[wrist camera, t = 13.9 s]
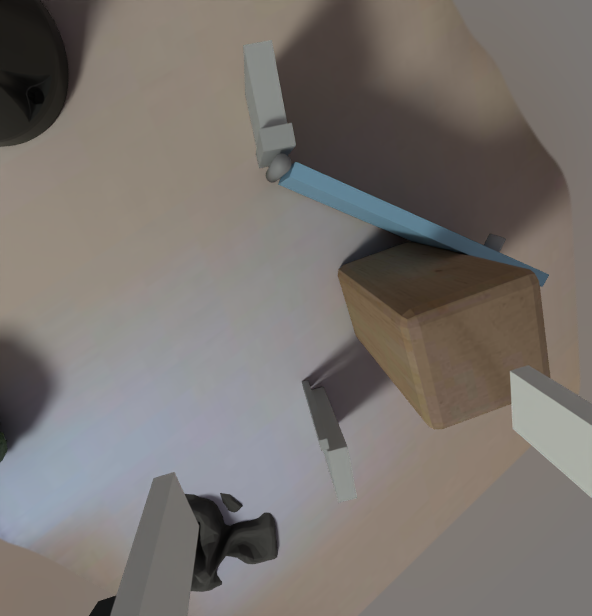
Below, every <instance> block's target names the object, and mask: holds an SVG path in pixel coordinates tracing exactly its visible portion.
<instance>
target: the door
mask: <svg viewBox="0 0 592 616" xmlns="http://www.w3.org/2000/svg"><path fill="white" fill-rule="evenodd" d="M266 178H267V180H268V181H269V182H276V181H277V180H278V179H280V181H279V184H278V185H281V186H283V187H285V188H288V189H290V190H293V191H295V192H297V193H300V194H302V195H304V196H307V197H309V198H311V199H314V200H316V201H318V202H321V203H323V204H325V205H328V206H330V207H332V208H335V209H337V210H339V211H342V212H344V213H346V214H349V215H351V216H353V217H356V218H358V219H361V220H363V221H365V222H368V223H370V224H372V225H375V226H377V227H379V228H382V229H384V230H386V231H389V232H391V233H393V234H396V235H398V236H400V237H403V238H405V239H407V240H410V241H412V242H416V243H420V244H424V245H429V246H433V247H437V248H441V249H445V250H450V251H454V252H458V253H462V254H467V255H471V256H475V257H479V258H484V259H488V260H492V261H496V262H501V263H505V264H509V265H513V266H517V267H522V268H526V269H530V270H531V271H532V272H534V273H535V275H536V276H537V278H538V280H539V285H540V286H541V287H543V285H544V283H545V281H546V280H547V278H548V276H549V274H546V273H544V272H542V271H540V270H538V269H535V268H533V267H531V266H529V265H526V264H524V263H522V262H520V261H517V260H515V259H513V258H511V257H508V256H506V255H504V254H502V253H499V252H500V250H501V248H502V246H503V244H504V242H505V240H506V239H504V238H502V237H500V236H497V235H493V234H489V236H488V238H487V240H486V242H485V244H484V245H481V244H479V243H477V242H475V241H473V240H470V239H468V238H466V237H464V236H461V235H459V234H457V233H455V232H452V231H450V230H448V229H446V228H443V227H441V226H439V225H437V224H434V223H432V222H430V221H428V220H425V219H423V218H421V217H419V216H416V215H414V214H412V213H410V212H408V211H405V210H403V209H401V208H399V207H396V206H394V205H392V204H390V203H387V202H385V201H383V200H381V199H378V198H376V197H374V196H372V195H369V194H367V193H365V192H363V191H360V190H358V189H356V188H354V187H351V186H349V185H347V184H345V183H342V182H340V181H338V180H336V179H334V178H331V177H329V176H327V175H325V174H322V173H320V172H318V171H316V170H313V169H311V168H309V167H307V166H304V165H302V164H300V163H298V162H294V163H293V164H292V165H291V160H290V158H289V157H288V156H287V155H286V154H278V155H276V156H275V158H274V159H273V161H272V163H271V165H270V167H269V169H268V170H267V172H266Z"/></svg>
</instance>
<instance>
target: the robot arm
mask: <svg viewBox="0 0 592 616" xmlns="http://www.w3.org/2000/svg"><path fill="white" fill-rule="evenodd" d="M67 87H68V63H67V57H66V52H65V48H64V45H63V41H62V39H61V36H60V33H59V31H58V29H57V27H56V25H55V23H54V21H53V19H52V18H51V16H50V14H49V13H48V11H47V10H46V8H45V7H44V5H43V4H42V3H41V1H40V0H0V147H3V146H12V145H17V144H21V143H24V142H27V141H29V140H31V139H33V138H35V137H37V136H38V135H40V134H41V133H43V132H44V131H45V130H46V129H47V128H48V127H49V126H50V125H51V124H52V123H53V122H54V120H55V119H56V118H57V116H58V114H59V113H60V110H61V108H62V106H63V104H64V101H65V97H66V93H67ZM510 383H511V403H512V423H513V429H514V430H515V431H516V432H517V433H518V434H519V435H521V436H522V437H523V438H524V439H525V440H526V441H527V442H529V443H530V444H531V445H532V446H533V447H534V448H535V449H537V450H538V451H539V452H540V453H541V454H542V455H543V456H545V457H546V458H547V459H548V460H549V461H550V462H551V463H553V464H554V465H555V466H556V467H557V468H558V469H560V470H561V471H562V472H563V473H564V474H565V475H566V476H567V477H569V478H570V479H571V480H572V481H573V482H574V483H575V484H577V485H578V486H579V487H580V488H581V489H582V490H583V491H585V492H586V493H587V494H588V495H589V496H590V497H591V498H592V404H591V403H590V402H588V401H587V400H585V399H583V398H581V397H580V396H578V395H577V394H575V393H573V392H572V391H570V390H569V389H567V388H565V387H564V386H562V385H560V384H559V383H557V382H555V381H554V380H552V379H550V378H549V377H547V376H545V375H544V374H542V373H540V372H539V371H537V370H535V369H534V368H532V367H530V366H529V365H528V366H524V367H521V368H518V369H514V370H511V371H510ZM198 532H199V525H198V522H197V520H196V518H195V516H194V514H193V512H192V509H191V507H190V505H189V503H188V501H187V499H186V496H185V494H184V492H183V490H182V488H181V485H180V483H179V481H178V479H177V477H176V475H175V472H173V473H170V474H166V475H163V476H160V477H156V478H154V479H153V482H152V485H151V488H150V491H149V495H148V498H147V501H146V504H145V507H144V510H143V514H142V517H141V520H140V523H139V526H138V529H137V532H136V536H135V539H134V542H133V545H132V548H131V551H130V555H129V558H128V561H127V564H126V567H125V570H124V574H123V577H122V580H121V583H120V586H119V589H118V592H117V596H113V597H110V598H107V599H104V600H101V601H98V603H97V604H96V606H95V607H94V609H93V610H92V612H91V613H90V615H89V616H187V614H188V606H189V599H190V591H191V584H192V576H193V569H194V562H195V554H196V547H197V539H198Z"/></svg>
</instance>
